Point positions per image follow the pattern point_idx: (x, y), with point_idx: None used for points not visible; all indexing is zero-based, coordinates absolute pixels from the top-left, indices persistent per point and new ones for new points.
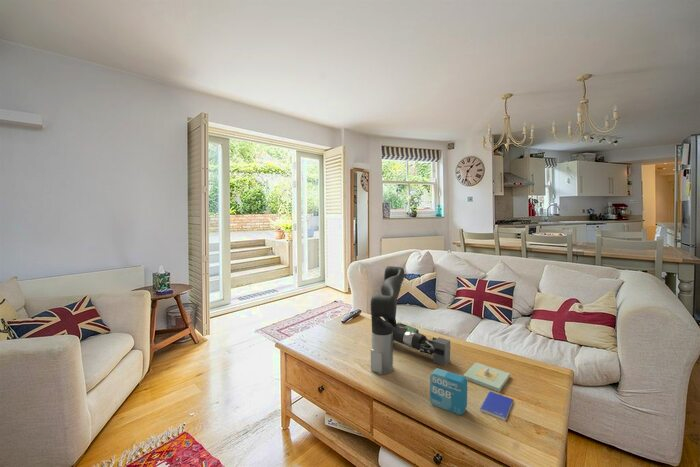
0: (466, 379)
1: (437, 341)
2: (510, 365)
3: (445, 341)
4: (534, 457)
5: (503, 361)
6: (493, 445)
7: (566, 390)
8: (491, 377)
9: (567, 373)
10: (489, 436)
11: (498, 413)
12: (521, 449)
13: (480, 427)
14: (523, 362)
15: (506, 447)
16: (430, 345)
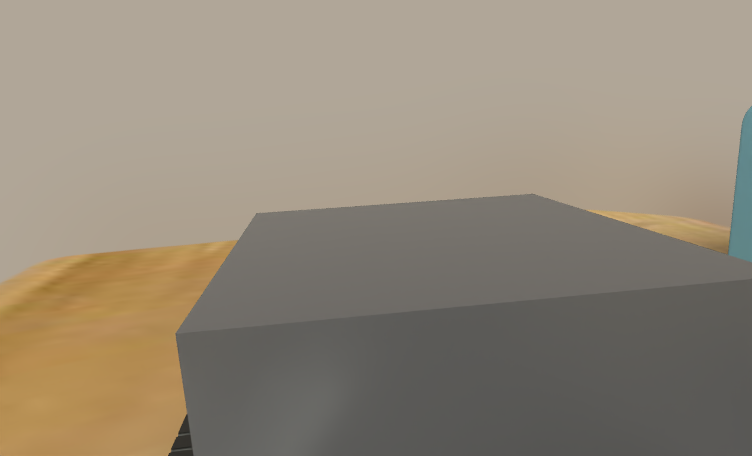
0: (749, 110)
1: (608, 241)
2: (84, 323)
3: (384, 216)
4: (624, 214)
5: (25, 350)
6: (721, 230)
7: (233, 240)
8: None
9: (84, 254)
10: (710, 238)
11: None
12: (638, 220)
13: (721, 249)
14: (7, 312)
15: (680, 225)
16: None
